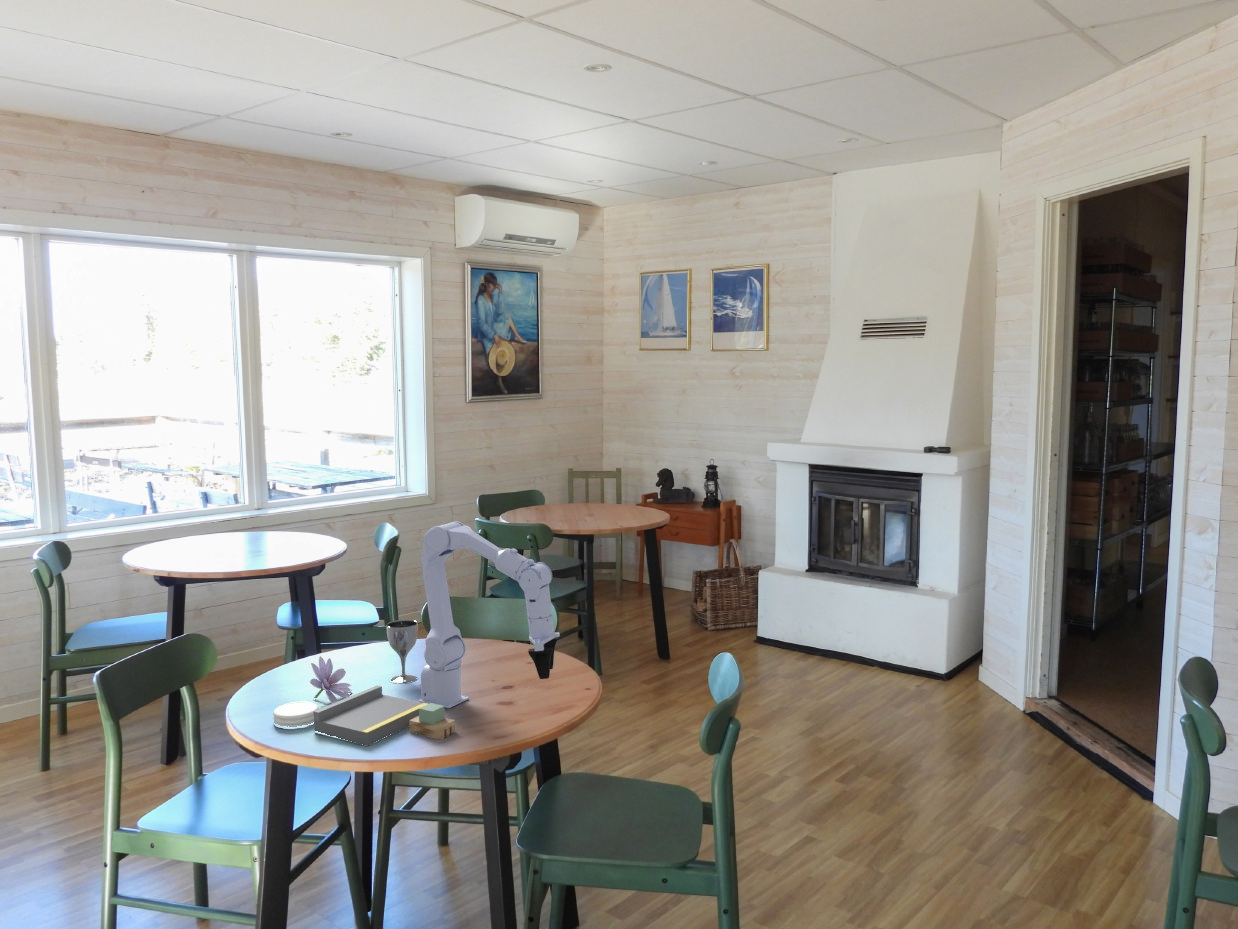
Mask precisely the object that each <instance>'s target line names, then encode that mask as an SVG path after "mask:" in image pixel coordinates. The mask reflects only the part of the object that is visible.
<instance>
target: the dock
mask: <svg viewBox="0 0 1238 929" xmlns="http://www.w3.org/2000/svg"><path fill="white" fill-rule="evenodd" d="M349 696H350V695H349ZM425 705H427V703H421V702H419V701H415V700H409V699H404V698H401V697H396V696H391V695H387V694H383V685H382V686H381V685H375V686H373V687H369V688H367V689H365V690H362V691H360V692H357V693H356V694H352V695H351V696H350V697H348V698H343V699H340V700H338V702H335V703H333V704H332V703H330V704H329V705H325V706H323V707H322V708H319V709H318V710H316V711H314V725H313V731H314V730H315V731H318V732H321V733H325V734H327V735H330V736H336V737H338V738H341V739H345V740H348V741H352V742H356V743H358V744H357V745H360V744H363V745H362V746H364V745H369V746H371V745H373V744H372V743H374V742H376V741H378V740H380V739H382V738H384V737H386V736H388V737H389V735H390V734H392V735H394V734H396V733H399V732H400V731H403V730H405V729H406V727H407V728H408V726H409V720H411V719H413V718H415V717H417V716H419V708H421V707H423V706H425ZM404 728H405V729H404ZM402 729H403V730H402ZM399 730H400V731H399ZM395 732H396V733H395ZM393 733H394V734H393ZM390 736H391V735H390ZM386 738H387V737H386ZM384 739H385V738H384ZM382 740H383V739H382ZM348 741H347V742H348ZM380 741H381V740H380ZM352 742H351V743H352ZM378 742H379V741H378ZM356 743H355V744H356ZM376 743H377V742H376ZM370 744H371V745H370ZM374 744H375V743H374Z"/></svg>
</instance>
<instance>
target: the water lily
mask: <svg viewBox="0 0 1238 929" xmlns="http://www.w3.org/2000/svg"><path fill="white" fill-rule="evenodd" d="M311 669H312V670H313V673H314V675H315V677H316V678H312V679H311V680H310V681H309V683H310V685H312V686H313V687H314V688H317V689H319V691H318V692H317V693H316V695H315V696H314V697H313V698H318V697H319V696H320V695H321V693H322V692H323V691H325V694H326V695H325V696H327V699H328V701H329V702H330V704H333V703H335V702H338V701H339V700H338V698H337V697H336V696H338V697H341V698H343V699H345V698H348V697H350V694H348V693H353V692H352V689H351V687H352V684H350V683H347V682H340V681H341V680H342V679H343V678H344V677H345V676H346V673H347V672H346V670H345V669H344V668H339V669H338V668H337V669H336V670H335V671H334V672H333V669H334V666H333V662H332V660H331V657H329V658H328V659H327V661H325V660H324V658H323V657H322V656H319V657H318V665H316V664H315V663H313V662H312V663H311ZM335 695H336V696H335Z"/></svg>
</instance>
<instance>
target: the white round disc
mask: <svg viewBox="0 0 1238 929" xmlns="http://www.w3.org/2000/svg"><path fill="white" fill-rule="evenodd" d="M318 709H320V707H319V705H318V704H317V703H315V702H312V701H294V702H287V703H285V704H281V705H279V706H278V707H276V708H274V710H273V713H272V715H273V718H272V719H273V724H274V723H275V724H278V725H280V726H287V727H288V726H289V727H297V726H302V725H308V724H311V723H313V722H314V711H316V710H318Z"/></svg>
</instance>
